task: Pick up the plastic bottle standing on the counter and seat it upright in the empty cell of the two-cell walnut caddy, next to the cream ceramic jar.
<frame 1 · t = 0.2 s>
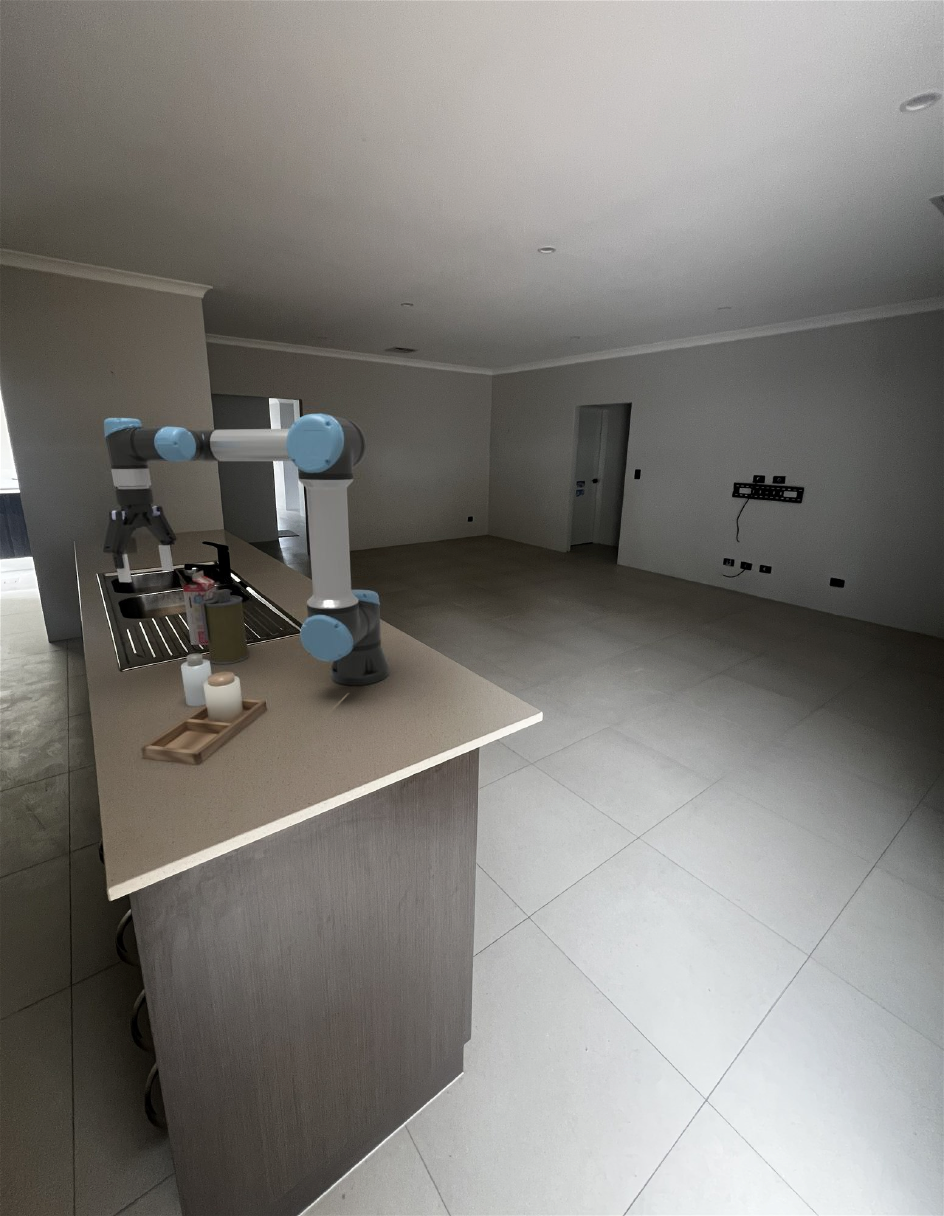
hand: (147, 575, 133), 28 cm above the worktop, fingers open, 13 cm apart
ceramic jar: (226, 719, 118), point 1 cm above the worktop, touching caddy
plastic bottle: (201, 703, 127), on the worktop
canister: (228, 658, 156), on the worktop
caddy: (210, 735, 113), on the worktop
juice carton: (206, 641, 170), on the worktop
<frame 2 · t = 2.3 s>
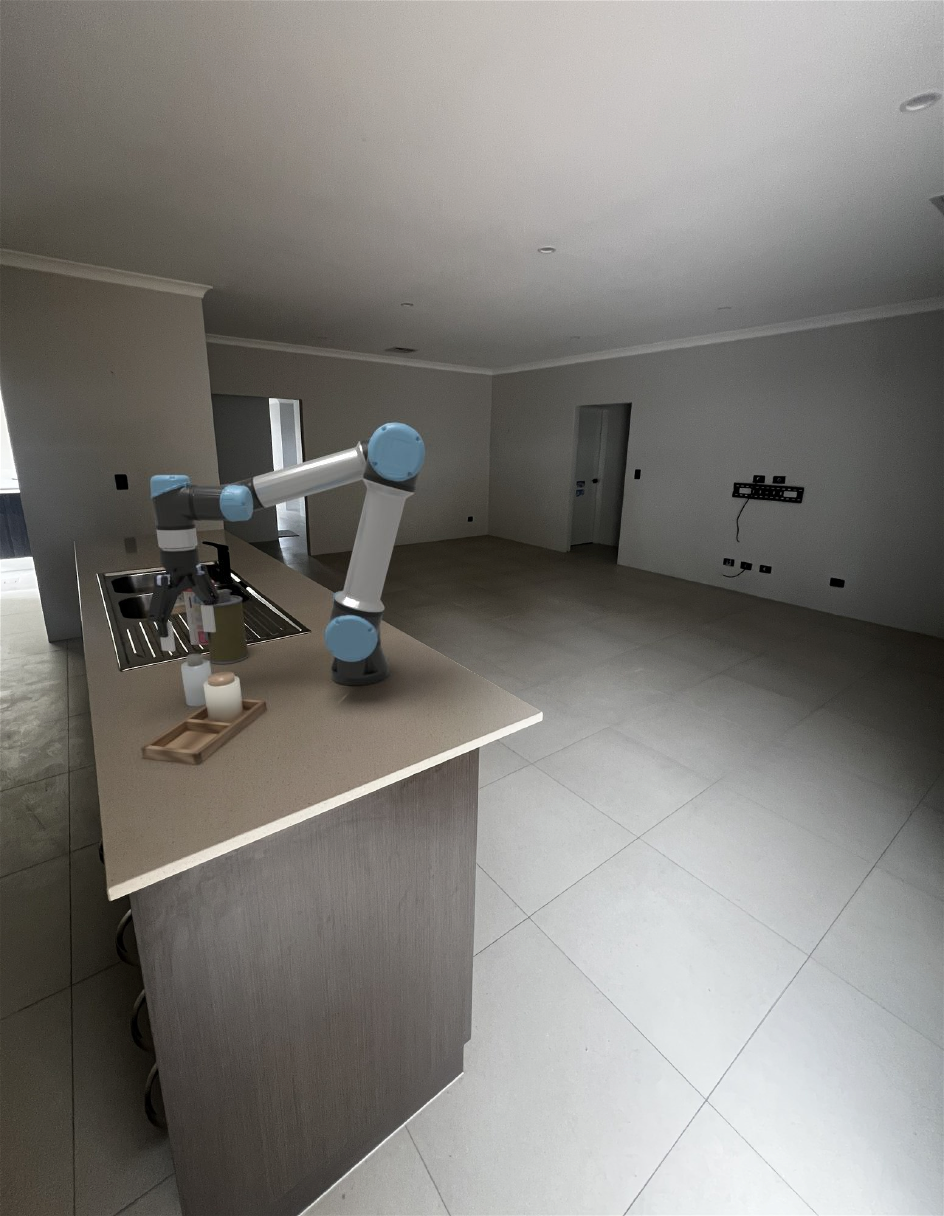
hand: (190, 640, 123), 16 cm above the worktop, fingers open, 13 cm apart
nothing on the worktop moved.
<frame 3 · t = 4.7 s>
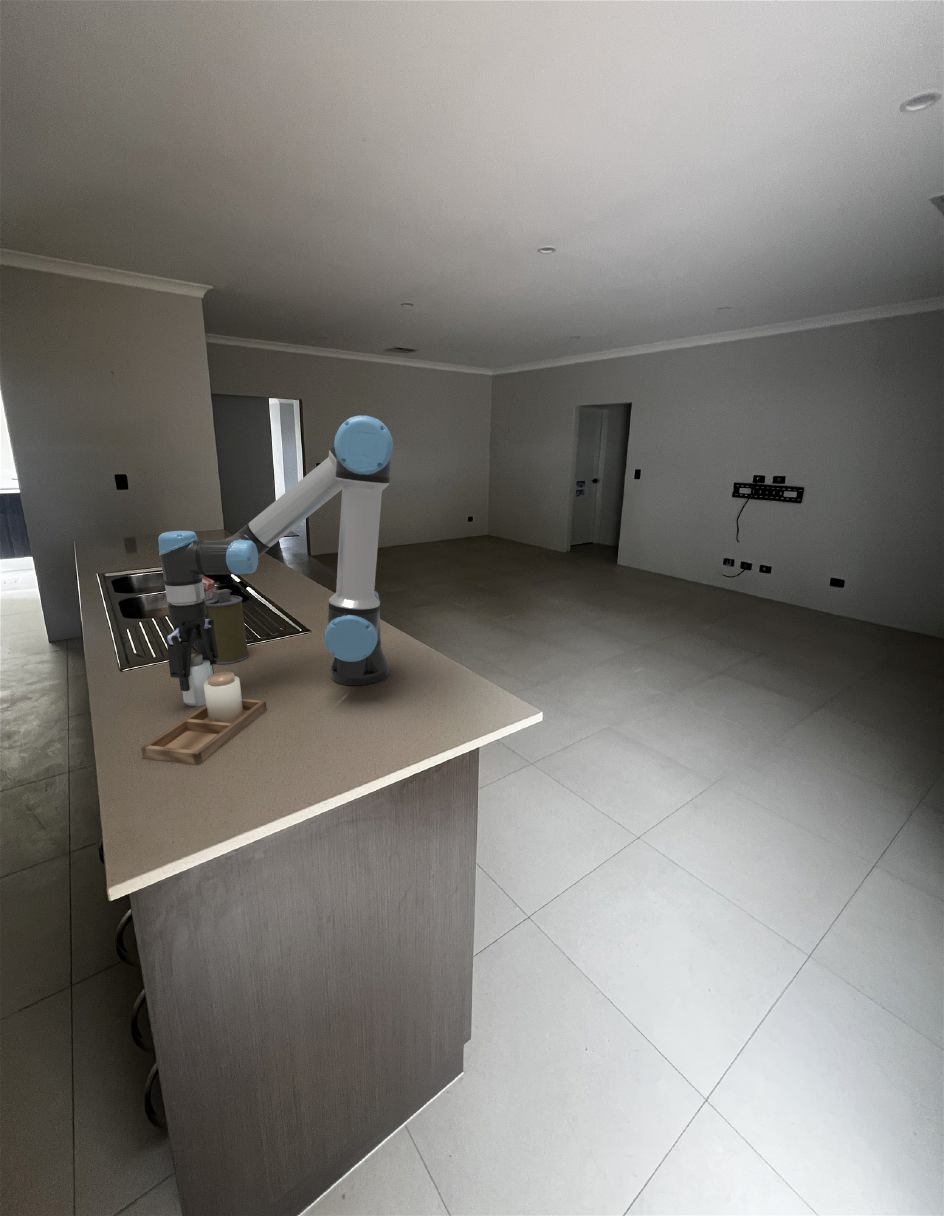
hand: (200, 696, 127), 2 cm above the worktop, fingers closed on plastic bottle, 6 cm apart
plastic bottle: (201, 703, 127), on the worktop, touching gripper
everything else where it was.
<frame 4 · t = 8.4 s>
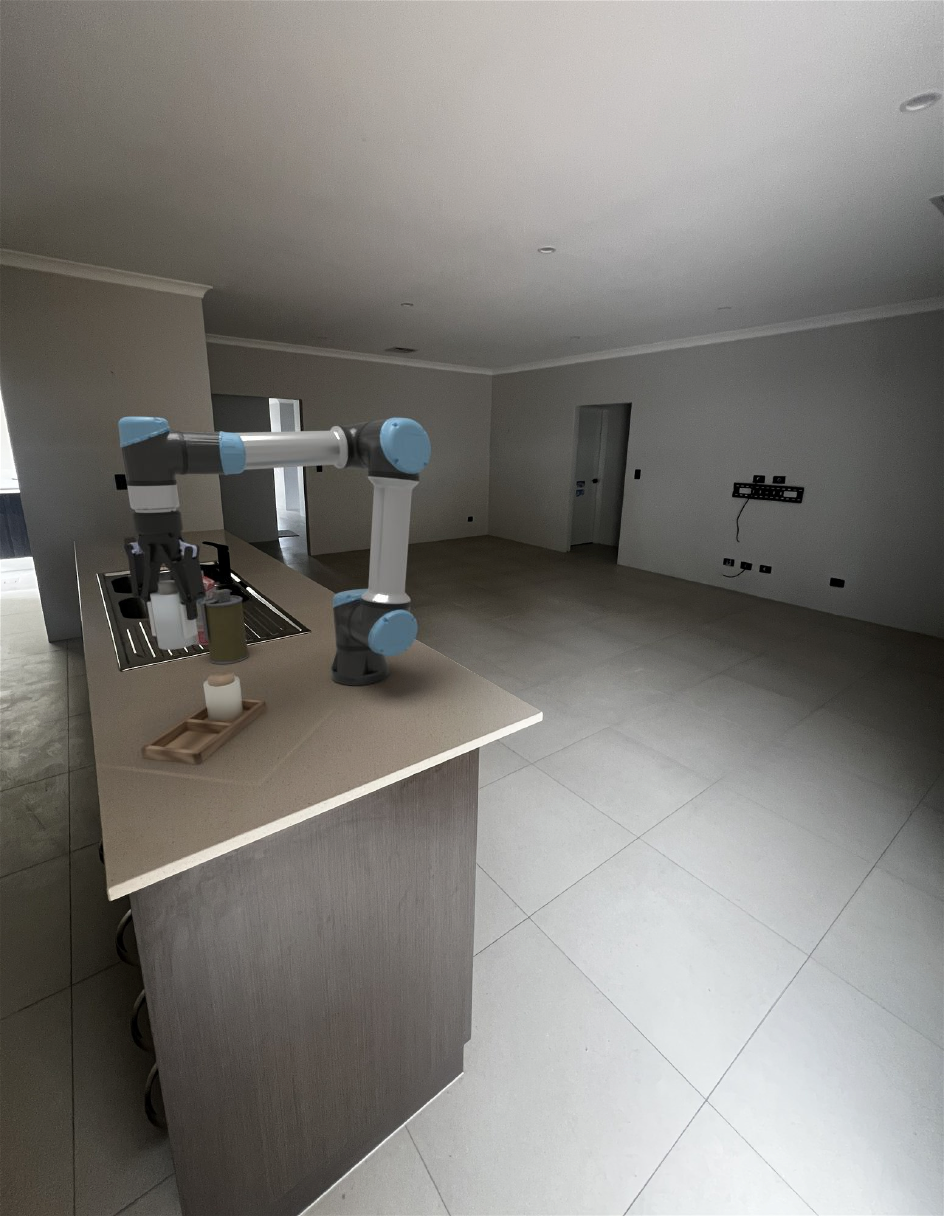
hand: (175, 634, 101), 24 cm above the worktop, fingers closed on plastic bottle, 6 cm apart
plastic bottle: (176, 644, 101), point 22 cm above the worktop, touching gripper
everything else where it was.
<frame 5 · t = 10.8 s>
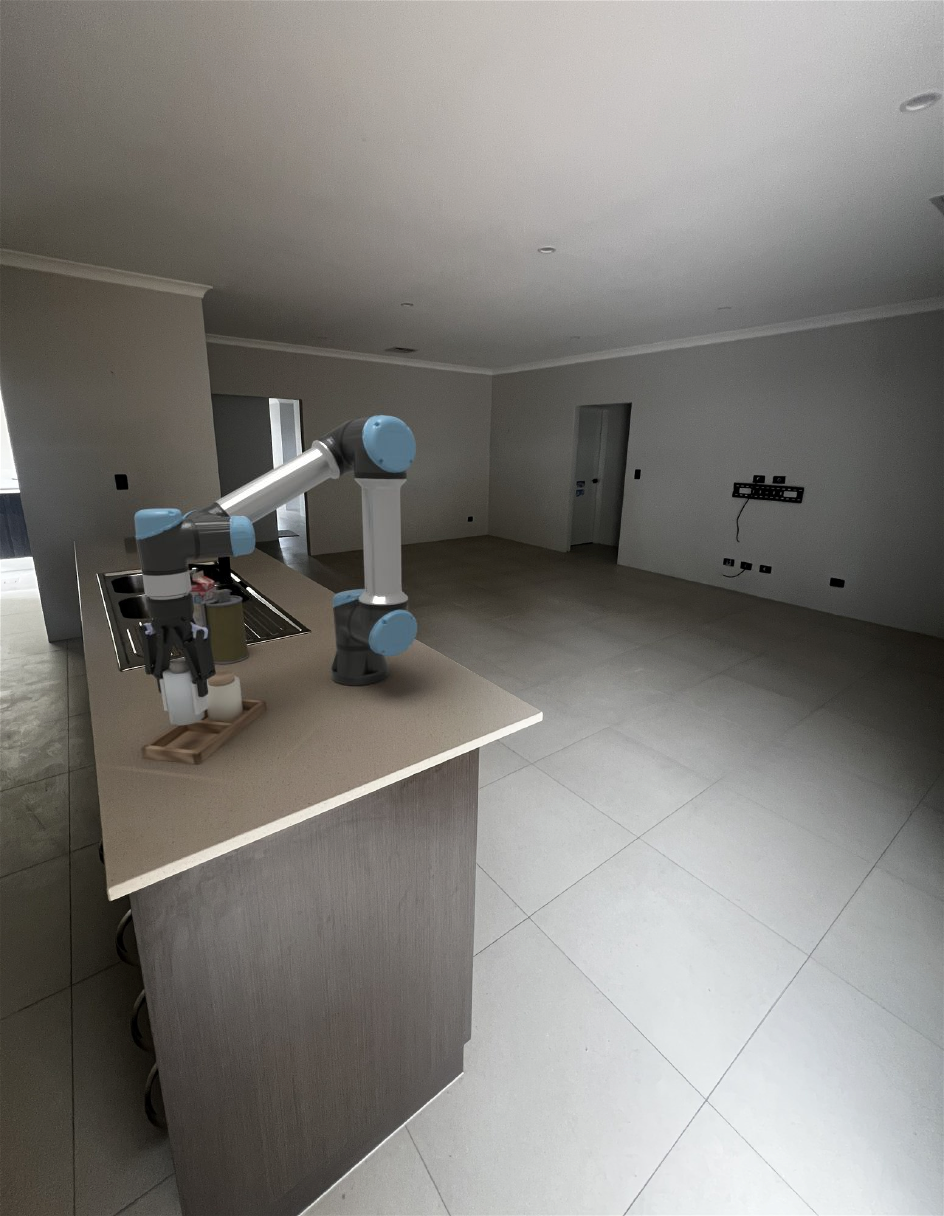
hand: (186, 709, 105), 9 cm above the worktop, fingers closed on plastic bottle, 6 cm apart
plastic bottle: (187, 718, 106), point 7 cm above the worktop, touching gripper
everything else where it was.
when the fingers open (5 cm above the worktop, at t = 12.5 s): plastic bottle drops 2 cm, resting on caddy.
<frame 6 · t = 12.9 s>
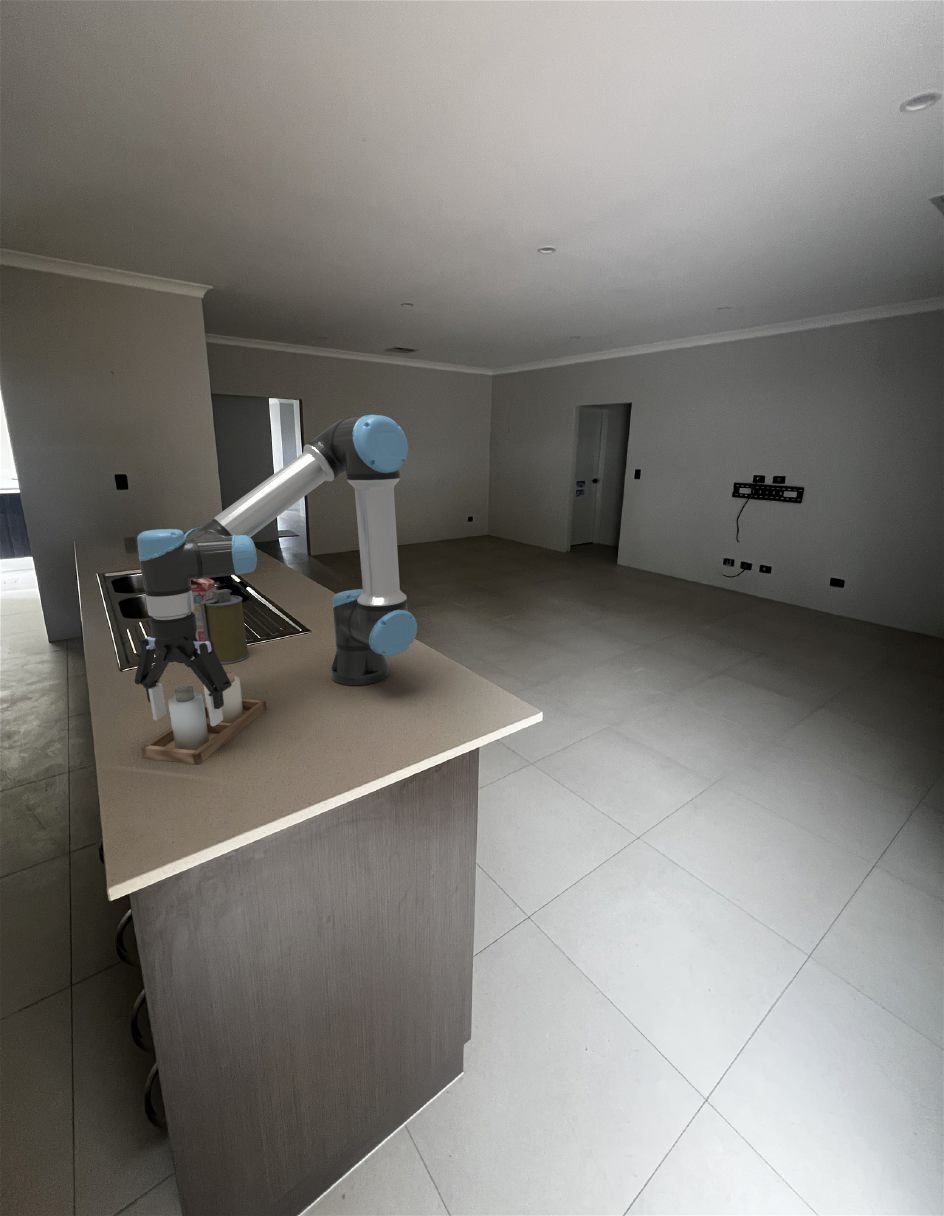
hand: (188, 720, 106), 6 cm above the worktop, fingers open, 12 cm apart
plastic bottle: (192, 744, 107), point 1 cm above the worktop, touching caddy
everything else where it was.
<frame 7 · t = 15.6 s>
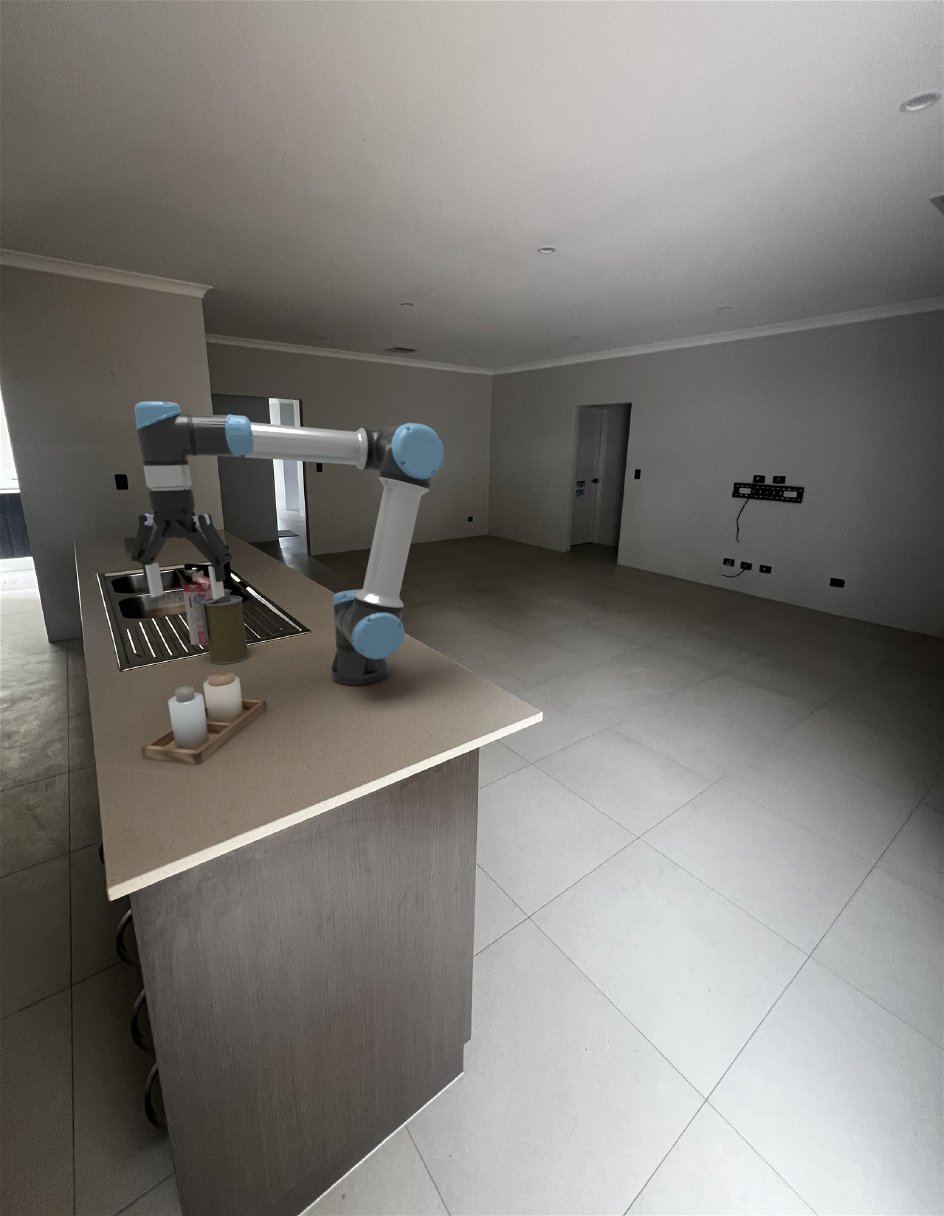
hand: (187, 596, 108), 29 cm above the worktop, fingers open, 13 cm apart
nothing on the worktop moved.
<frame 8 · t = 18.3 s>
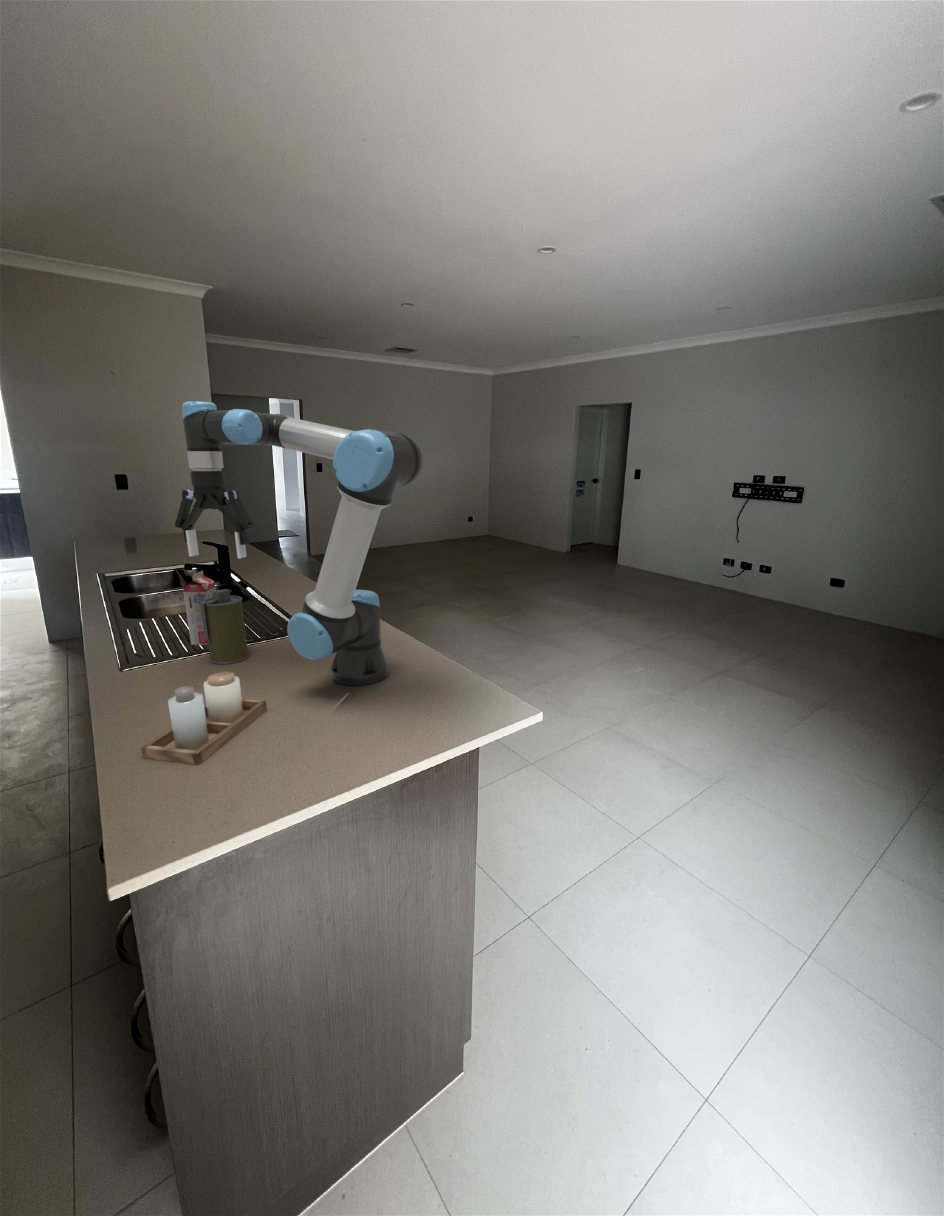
hand: (217, 556, 136), 32 cm above the worktop, fingers open, 13 cm apart
nothing on the worktop moved.
at the end: plastic bottle inside the target area on the caddy (0.1 cm from its centre), point 0.8 cm above the caddy's base; plastic bottle tilted 0°; the gripper is holding nothing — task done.
